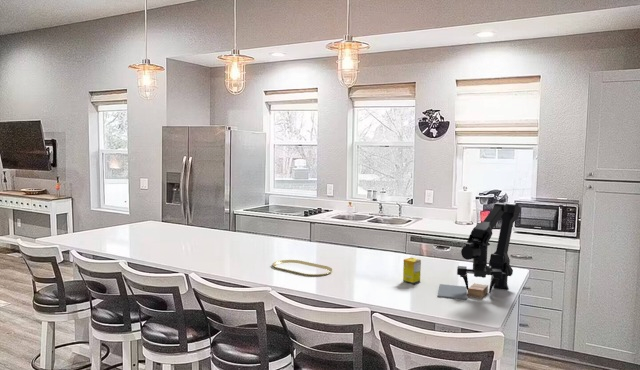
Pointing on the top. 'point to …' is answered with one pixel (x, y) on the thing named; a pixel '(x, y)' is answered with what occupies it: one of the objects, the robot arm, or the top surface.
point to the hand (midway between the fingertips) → (478, 291)
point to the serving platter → (304, 264)
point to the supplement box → (411, 270)
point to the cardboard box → (477, 290)
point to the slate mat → (452, 291)
